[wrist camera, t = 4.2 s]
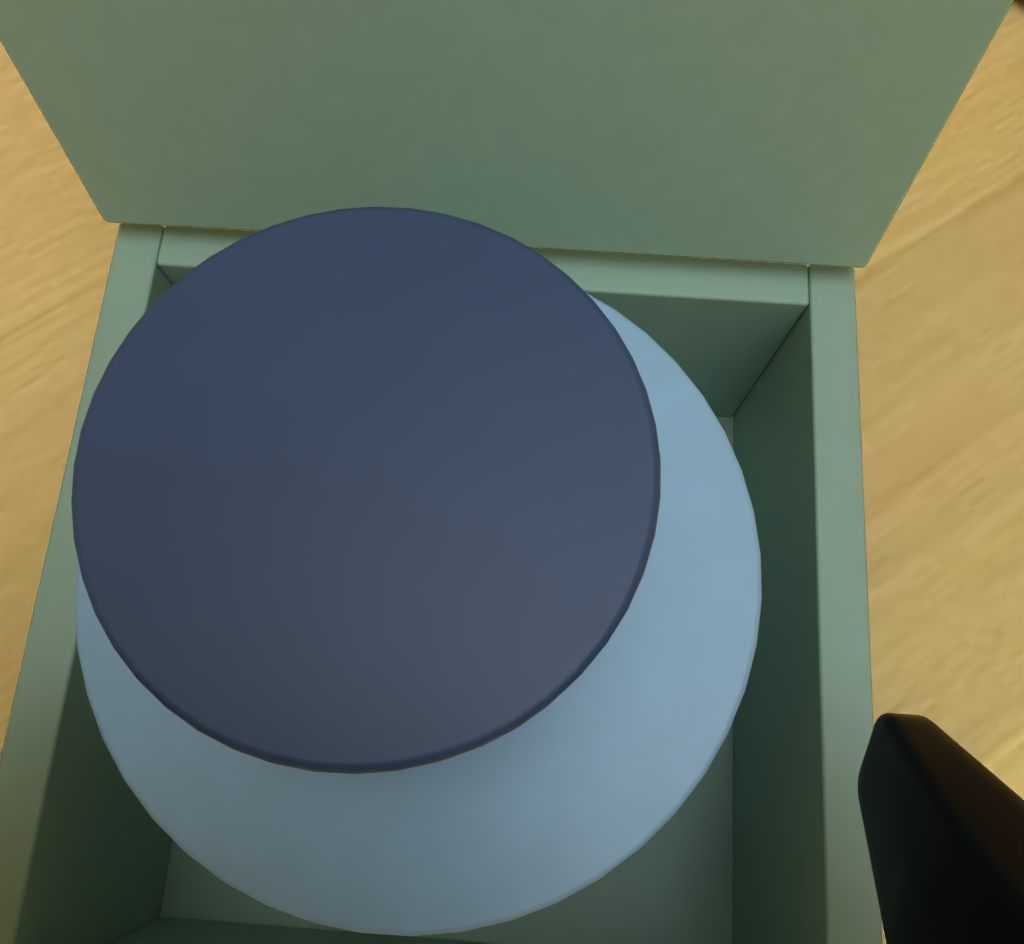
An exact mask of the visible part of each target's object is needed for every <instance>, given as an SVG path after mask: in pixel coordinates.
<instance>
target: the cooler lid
mask: <svg viewBox="0 0 1024 944" xmlns="http://www.w3.org/2000/svg"><path fill="white" fill-rule="evenodd" d="M1013 1H1014V0H0V41H1V42H2V44H3V46H4V48H5V49H6V51H7V53H8V55H9V56H10V58H11V60H12V61H13V63H14V65H15V67H16V68H17V70H18V72H19V74H20V75H21V77H22V79H23V81H24V82H25V84H26V86H27V87H28V89H29V91H30V93H31V94H32V96H33V98H34V100H35V101H36V103H37V105H38V107H39V108H40V110H41V112H42V113H43V115H44V117H45V119H46V120H47V122H48V124H49V126H50V127H51V129H52V131H53V133H54V134H55V136H56V138H57V139H58V141H59V143H60V145H61V146H62V148H63V150H64V152H65V153H66V155H67V157H68V159H69V160H70V162H71V164H72V165H73V167H74V169H75V171H76V172H77V174H78V176H79V178H80V179H81V181H82V183H83V184H84V186H85V188H86V190H87V191H88V193H89V195H90V197H91V198H92V200H93V202H94V204H95V205H96V207H97V209H98V210H99V212H100V214H101V216H102V217H103V219H104V220H105V221H107V222H117V223H133V224H150V225H166V226H183V227H199V228H216V229H232V230H249V231H261V230H263V229H266V228H268V227H270V226H273V225H276V224H279V223H283V222H286V221H289V220H293V219H296V218H299V217H303V216H306V215H311V214H316V213H322V212H327V211H333V210H338V209H348V208H362V207H396V208H413V209H419V210H425V211H431V212H437V213H443V214H448V215H451V216H455V217H458V218H462V219H465V220H469V221H472V222H476V223H479V224H481V225H484V226H486V227H488V228H491V229H493V230H495V231H498V232H500V233H502V234H505V235H507V236H510V237H512V238H513V239H515V240H517V241H518V242H520V243H522V244H524V245H525V246H527V247H529V248H545V249H561V250H578V251H594V252H611V253H627V254H644V255H660V256H677V257H693V258H710V259H726V260H743V261H759V262H776V263H792V264H808V265H825V266H841V267H858V268H862V267H865V266H866V265H867V263H868V262H869V260H870V258H871V256H872V254H873V253H874V251H875V249H876V247H877V245H878V244H879V242H880V240H881V238H882V236H883V235H884V233H885V231H886V229H887V227H888V226H889V224H890V222H891V220H892V218H893V217H894V215H895V213H896V211H897V209H898V208H899V206H900V204H901V202H902V200H903V199H904V197H905V195H906V193H907V191H908V190H909V188H910V186H911V184H912V182H913V181H914V179H915V177H916V175H917V173H918V172H919V170H920V168H921V166H922V164H923V163H924V161H925V159H926V157H927V155H928V154H929V152H930V150H931V148H932V147H933V145H934V143H935V141H936V139H937V138H938V136H939V134H940V132H941V130H942V129H943V127H944V125H945V123H946V121H947V120H948V118H949V116H950V114H951V112H952V111H953V109H954V107H955V105H956V103H957V102H958V100H959V98H960V96H961V94H962V93H963V91H964V89H965V87H966V85H967V84H968V82H969V80H970V78H971V76H972V75H973V73H974V71H975V69H976V67H977V66H978V64H979V62H980V60H981V58H982V57H983V55H984V53H985V51H986V49H987V48H988V46H989V44H990V42H991V40H992V39H993V37H994V35H995V33H996V32H997V30H998V28H999V26H1000V24H1001V23H1002V21H1003V19H1004V17H1005V15H1006V14H1007V12H1008V10H1009V8H1010V6H1011V5H1012V3H1013Z"/></svg>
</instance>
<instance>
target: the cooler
mask: <svg viewBox="0 0 1024 944" xmlns="http://www.w3.org/2000/svg"><path fill="white" fill-rule="evenodd" d="M256 232H258V231H242V230H225V229H209V228H192V227H176V226H166V227H165V228H164V227H163V226H161V225H147V224H130V223H121V224H120V227H119V231H118V235H117V240H116V244H115V249H114V253H113V258H112V262H111V267H110V271H109V276H108V280H107V285H106V289H105V294H104V298H103V303H102V307H101V311H100V316H99V320H98V325H97V329H96V334H95V338H94V343H93V347H92V352H91V356H90V361H89V365H88V370H87V374H86V378H85V383H84V387H83V392H82V396H81V401H80V405H79V410H78V414H77V419H76V423H75V428H74V432H73V437H72V441H71V446H70V450H69V454H68V459H67V463H66V468H65V472H64V477H63V481H62V486H61V490H60V495H59V499H58V504H57V508H56V513H55V517H54V522H53V526H52V530H51V535H50V539H49V544H48V548H47V553H46V557H45V562H44V566H43V571H42V575H41V580H40V584H39V589H38V593H37V597H36V602H35V606H34V611H33V615H32V620H31V624H30V629H29V633H28V638H27V642H26V647H25V651H24V656H23V660H22V665H21V669H20V673H19V678H18V682H17V687H16V691H15V696H14V700H13V705H12V709H11V714H10V718H9V723H8V727H7V732H6V736H5V740H4V745H3V749H2V754H1V758H0V944H883V943H882V920H881V912H880V907H879V902H878V897H877V892H876V887H875V881H874V876H873V871H872V866H871V861H870V856H869V850H868V845H867V840H866V835H865V830H864V824H863V819H862V814H861V809H860V804H859V798H858V775H859V771H860V768H861V765H862V761H863V758H864V755H865V752H866V749H867V746H868V743H869V740H870V737H871V734H872V731H873V705H872V681H871V658H870V634H869V610H868V586H867V562H866V539H865V515H864V491H863V467H862V443H861V420H860V396H859V372H858V348H857V324H856V301H855V277H854V268H852V267H840V266H823V265H810V266H809V267H807V265H801V264H785V263H768V262H752V261H736V260H719V259H703V258H686V257H670V256H653V255H637V254H620V253H604V252H587V251H571V250H554V249H538V248H531V249H532V250H534V251H536V252H538V253H539V254H541V255H542V256H543V257H545V258H546V259H547V260H549V261H550V262H551V263H553V264H554V265H555V266H557V267H558V268H559V269H561V270H562V271H563V272H565V273H566V274H567V275H568V276H569V277H570V278H571V279H572V280H573V281H574V282H575V283H576V284H577V285H579V286H580V287H581V288H582V289H583V290H584V291H585V292H586V293H587V294H589V295H591V296H593V297H594V298H596V299H598V300H599V301H601V302H603V303H605V304H606V305H608V306H610V307H612V308H613V309H615V310H616V311H618V312H619V313H620V314H622V315H623V316H624V317H626V318H627V319H628V320H630V321H631V322H632V323H634V324H635V325H636V326H637V327H639V328H640V329H641V330H643V331H644V332H645V333H647V334H648V335H649V336H650V337H651V338H652V339H653V340H654V341H655V342H656V343H657V344H658V345H659V346H660V347H661V348H662V349H663V350H664V351H665V352H666V353H667V354H668V355H669V356H670V357H671V358H673V359H674V360H675V361H676V362H677V364H678V365H679V366H680V367H681V369H682V370H683V371H684V372H685V374H686V375H687V376H688V377H689V379H690V380H691V381H692V382H693V384H694V385H695V386H696V387H697V389H698V390H699V391H700V392H701V394H702V395H703V396H704V398H705V400H706V401H707V403H708V405H709V406H710V408H711V410H712V411H713V413H714V415H715V416H716V418H717V420H718V421H719V423H720V424H721V426H722V428H723V429H724V431H725V433H726V436H727V438H728V440H729V442H730V445H731V447H732V449H733V451H734V454H735V456H736V458H737V460H738V463H739V465H740V467H741V469H742V473H743V476H744V479H745V483H746V486H747V490H748V493H749V496H750V500H751V503H752V507H753V510H754V515H755V521H756V528H757V534H758V541H759V547H760V553H761V589H762V601H761V611H760V620H759V629H758V638H757V646H756V650H755V654H754V658H753V662H752V666H751V670H750V674H749V678H748V682H747V686H746V690H745V692H744V695H743V697H742V700H741V702H740V705H739V707H738V710H737V712H736V715H735V717H734V720H733V722H732V725H731V728H730V730H729V733H728V735H727V736H726V738H725V740H724V742H723V743H722V745H721V747H720V749H719V751H718V752H717V754H716V756H715V758H714V759H713V761H712V763H711V765H710V766H709V768H708V770H707V772H706V774H705V775H704V777H703V778H702V779H701V781H700V782H699V783H698V785H697V786H696V787H695V788H694V790H693V791H692V792H691V794H690V795H689V796H688V798H687V799H686V800H685V802H684V803H683V804H682V806H681V807H680V808H679V810H678V811H677V812H676V814H675V815H674V816H673V817H672V818H671V819H670V820H669V821H668V822H667V823H666V824H665V825H664V826H663V827H662V828H661V829H660V830H659V831H658V832H657V833H656V834H655V835H654V836H653V837H652V838H651V839H650V840H649V841H648V842H647V843H646V844H645V845H644V846H643V847H642V848H641V849H639V850H638V851H637V852H635V853H634V854H633V855H631V856H630V857H629V858H627V859H626V860H625V861H623V862H622V863H621V864H619V865H618V866H617V867H615V868H614V869H613V870H611V871H610V872H609V873H607V874H606V875H605V876H603V877H602V878H601V879H599V880H597V881H595V882H594V883H592V884H590V885H588V886H586V887H585V888H583V889H581V890H579V891H577V892H576V893H574V894H572V895H570V896H568V897H567V898H565V899H563V900H561V901H559V902H558V903H555V904H553V905H550V906H548V907H545V908H542V909H540V910H537V911H534V912H532V913H529V914H527V915H524V916H521V917H519V918H516V919H514V920H511V921H507V922H503V923H499V924H494V925H490V926H485V927H481V928H477V929H472V930H468V931H464V932H456V933H443V934H431V935H419V936H401V935H385V934H370V933H359V932H354V931H350V930H345V929H340V928H336V927H331V926H326V925H321V924H317V923H312V922H310V921H307V920H304V919H302V918H299V917H296V916H293V915H291V914H288V913H285V912H283V911H280V910H277V909H275V908H272V907H269V906H267V905H265V904H263V903H261V902H259V901H258V900H256V899H254V898H252V897H250V896H248V895H247V894H245V893H243V892H241V891H239V890H238V889H236V888H234V887H232V886H230V885H229V884H227V883H225V882H223V881H222V880H221V879H219V878H218V877H217V876H215V875H214V874H213V873H211V872H210V871H209V870H208V869H206V868H205V867H204V866H202V865H201V864H200V863H198V862H197V861H196V860H194V859H193V858H192V857H190V856H189V855H188V854H187V853H185V852H184V851H183V850H182V849H181V848H180V847H179V846H178V845H177V843H176V842H175V841H174V840H173V839H172V838H171V837H170V836H169V835H168V834H167V833H166V832H165V831H164V830H163V829H162V828H161V827H160V826H159V825H158V824H157V823H156V822H155V821H154V820H153V819H152V818H151V816H150V815H149V814H148V812H147V811H146V809H145V808H144V807H143V805H142V804H141V802H140V801H139V800H138V798H137V797H136V796H135V794H134V793H133V791H132V790H131V789H130V787H129V786H128V785H127V783H126V782H125V780H124V779H123V777H122V775H121V773H120V771H119V769H118V767H117V765H116V763H115V761H114V759H113V758H112V756H111V754H110V752H109V750H108V748H107V746H106V744H105V742H104V740H103V738H102V736H101V733H100V730H99V727H98V724H97V721H96V719H95V716H94V713H93V710H92V707H91V705H90V702H89V699H88V696H87V692H86V687H85V682H84V678H83V673H82V668H81V663H80V658H79V653H78V646H77V631H76V616H75V593H76V578H77V563H78V557H77V552H76V548H75V543H74V536H73V521H72V506H71V498H72V483H73V469H74V462H75V457H76V452H77V447H78V442H79V437H80V432H81V428H82V425H83V422H84V420H85V417H86V414H87V411H88V408H89V405H90V402H91V399H92V396H93V394H94V392H95V390H96V388H97V386H98V384H99V382H100V380H101V378H102V376H103V374H104V372H105V370H106V368H107V366H108V364H109V362H110V360H111V359H112V357H113V356H114V354H115V352H116V351H117V349H118V348H119V346H120V345H121V343H122V342H123V340H124V339H125V337H126V336H127V334H128V333H129V331H130V330H131V329H132V328H133V327H134V325H135V324H136V323H137V322H138V321H139V319H140V318H141V317H142V316H143V315H144V314H145V312H146V311H147V310H148V309H149V308H150V306H151V305H152V304H153V303H154V302H155V301H156V300H157V299H158V298H159V297H161V296H162V295H163V294H164V293H165V292H166V291H167V290H168V289H169V288H170V287H171V286H172V285H173V284H175V283H176V282H177V281H178V280H179V279H180V278H181V277H183V276H184V275H185V274H187V273H188V272H190V271H191V270H192V269H194V268H195V267H196V266H198V265H199V264H200V263H202V262H203V261H205V260H206V259H207V258H209V257H210V256H212V255H214V254H216V253H217V252H219V251H221V250H223V249H224V248H226V247H228V246H230V245H231V244H233V243H235V242H237V241H238V240H240V239H242V238H245V237H247V236H249V235H252V234H254V233H256Z"/></svg>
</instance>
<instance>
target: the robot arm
mask: <svg viewBox="0 0 1024 944" xmlns="http://www.w3.org/2000/svg"><path fill="white" fill-rule="evenodd" d="M858 798H859V804H860V809H861V814H862V819H863V824H864V830H865V835H866V840H867V845H868V850H869V856H870V861H871V866H872V871H873V876H874V881H875V887H876V892H877V897H878V902H879V907H880V912H881V918H882V923H883V928H884V933H885V937H886V942H887V944H1024V800H1023V799H1022V798H1021V797H1020V796H1018V795H1017V794H1016V793H1015V792H1014V791H1013V790H1011V789H1010V788H1009V787H1008V786H1007V785H1006V784H1004V783H1003V782H1002V781H1001V780H1000V779H999V778H997V777H996V776H995V775H994V774H993V773H992V772H991V771H989V770H988V769H987V768H986V767H985V766H984V765H982V764H981V763H980V762H979V761H978V760H977V759H975V758H974V757H973V756H972V755H971V754H970V753H968V752H967V751H966V750H965V749H964V748H963V747H961V746H960V745H959V744H958V743H957V742H956V741H954V740H953V739H952V738H951V737H950V736H949V735H947V734H946V733H945V732H944V731H943V730H942V729H940V728H939V727H938V726H937V725H936V724H935V723H933V722H932V721H931V720H929V719H928V718H926V717H924V716H920V715H909V714H895V713H886V714H883V715H881V716H880V717H879V718H878V719H877V721H876V723H875V725H874V728H873V731H872V734H871V737H870V740H869V743H868V746H867V749H866V752H865V755H864V758H863V761H862V765H861V768H860V771H859V775H858Z"/></svg>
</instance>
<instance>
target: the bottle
mask: <svg viewBox="0 0 1024 944" xmlns="http://www.w3.org/2000/svg"><path fill="white" fill-rule="evenodd" d="M71 506H72V521H73V536H74V543H75V548H76V552H77V557H78V563H77V578H76V593H75V616H76V631H77V646H78V653H79V658H80V663H81V668H82V673H83V678H84V682H85V687H86V692H87V696H88V699H89V702H90V705H91V707H92V710H93V713H94V716H95V719H96V721H97V724H98V727H99V730H100V733H101V736H102V738H103V740H104V742H105V744H106V746H107V748H108V750H109V752H110V754H111V756H112V758H113V759H114V761H115V763H116V765H117V767H118V769H119V771H120V773H121V775H122V777H123V779H124V780H125V782H126V783H127V785H128V786H129V787H130V789H131V790H132V791H133V793H134V794H135V796H136V797H137V798H138V800H139V801H140V802H141V804H142V805H143V807H144V808H145V809H146V811H147V812H148V814H149V815H150V816H151V818H152V819H153V820H154V821H155V822H156V823H157V824H158V825H159V826H160V827H161V828H162V829H163V830H164V831H165V832H166V833H167V834H168V835H169V836H170V837H171V838H172V839H173V840H174V841H175V842H176V843H177V845H178V846H179V847H180V848H181V849H182V850H183V851H184V852H185V853H187V854H188V855H189V856H190V857H192V858H193V859H194V860H196V861H197V862H198V863H200V864H201V865H202V866H204V867H205V868H206V869H208V870H209V871H210V872H211V873H213V874H214V875H215V876H217V877H218V878H219V879H221V880H222V881H223V882H225V883H227V884H229V885H230V886H232V887H234V888H236V889H238V890H239V891H241V892H243V893H245V894H247V895H248V896H250V897H252V898H254V899H256V900H258V901H259V902H261V903H263V904H265V905H267V906H269V907H272V908H275V909H277V910H280V911H283V912H285V913H288V914H291V915H293V916H296V917H299V918H302V919H304V920H307V921H310V922H312V923H317V924H321V925H326V926H331V927H336V928H340V929H345V930H350V931H354V932H359V933H370V934H385V935H401V936H419V935H431V934H443V933H456V932H464V931H468V930H472V929H477V928H481V927H485V926H490V925H494V924H499V923H503V922H507V921H511V920H514V919H516V918H519V917H521V916H524V915H527V914H529V913H532V912H534V911H537V910H540V909H542V908H545V907H548V906H550V905H553V904H555V903H558V902H559V901H561V900H563V899H565V898H567V897H568V896H570V895H572V894H574V893H576V892H577V891H579V890H581V889H583V888H585V887H586V886H588V885H590V884H592V883H594V882H595V881H597V880H599V879H601V878H602V877H603V876H605V875H606V874H607V873H609V872H610V871H611V870H613V869H614V868H615V867H617V866H618V865H619V864H621V863H622V862H623V861H625V860H626V859H627V858H629V857H630V856H631V855H633V854H634V853H635V852H637V851H638V850H639V849H641V848H642V847H643V846H644V845H645V844H646V843H647V842H648V841H649V840H650V839H651V838H652V837H653V836H654V835H655V834H656V833H657V832H658V831H659V830H660V829H661V828H662V827H663V826H664V825H665V824H666V823H667V822H668V821H669V820H670V819H671V818H672V817H673V816H674V815H675V814H676V812H677V811H678V810H679V808H680V807H681V806H682V804H683V803H684V802H685V800H686V799H687V798H688V796H689V795H690V794H691V792H692V791H693V790H694V788H695V787H696V786H697V785H698V783H699V782H700V781H701V779H702V778H703V777H704V775H705V774H706V772H707V770H708V768H709V766H710V765H711V763H712V761H713V759H714V758H715V756H716V754H717V752H718V751H719V749H720V747H721V745H722V743H723V742H724V740H725V738H726V736H727V735H728V733H729V730H730V728H731V725H732V722H733V720H734V717H735V715H736V712H737V710H738V707H739V705H740V702H741V700H742V697H743V695H744V692H745V690H746V686H747V682H748V678H749V674H750V670H751V666H752V662H753V658H754V654H755V650H756V646H757V638H758V629H759V620H760V611H761V601H762V589H761V553H760V547H759V541H758V534H757V528H756V521H755V515H754V510H753V507H752V503H751V500H750V496H749V493H748V490H747V486H746V483H745V479H744V476H743V473H742V469H741V467H740V465H739V463H738V460H737V458H736V456H735V454H734V451H733V449H732V447H731V445H730V442H729V440H728V438H727V436H726V433H725V431H724V429H723V428H722V426H721V424H720V423H719V421H718V420H717V418H716V416H715V415H714V413H713V411H712V410H711V408H710V406H709V405H708V403H707V401H706V400H705V398H704V396H703V395H702V394H701V392H700V391H699V390H698V389H697V387H696V386H695V385H694V384H693V382H692V381H691V380H690V379H689V377H688V376H687V375H686V374H685V372H684V371H683V370H682V369H681V367H680V366H679V365H678V364H677V362H676V361H675V360H674V359H673V358H671V357H670V356H669V355H668V354H667V353H666V352H665V351H664V350H663V349H662V348H661V347H660V346H659V345H658V344H657V343H656V342H655V341H654V340H653V339H652V338H651V337H650V336H649V335H648V334H647V333H645V332H644V331H643V330H641V329H640V328H639V327H637V326H636V325H635V324H634V323H632V322H631V321H630V320H628V319H627V318H626V317H624V316H623V315H622V314H620V313H619V312H618V311H616V310H615V309H613V308H612V307H610V306H608V305H606V304H605V303H603V302H601V301H599V300H598V299H596V298H594V297H593V296H591V295H589V294H587V293H586V292H585V291H584V290H583V289H582V288H581V287H580V286H579V285H577V284H576V283H575V282H574V281H573V280H572V279H571V278H570V277H569V276H568V275H567V274H566V273H565V272H563V271H562V270H561V269H559V268H558V267H557V266H555V265H554V264H553V263H551V262H550V261H549V260H547V259H546V258H545V257H543V256H542V255H541V254H539V253H538V252H536V251H534V250H532V249H531V248H529V247H527V246H525V245H524V244H522V243H520V242H518V241H517V240H515V239H513V238H512V237H510V236H507V235H505V234H502V233H500V232H498V231H495V230H493V229H491V228H488V227H486V226H484V225H481V224H479V223H476V222H472V221H469V220H465V219H462V218H458V217H455V216H451V215H448V214H443V213H437V212H431V211H425V210H419V209H413V208H396V207H362V208H348V209H338V210H333V211H327V212H322V213H316V214H311V215H306V216H303V217H299V218H296V219H293V220H289V221H286V222H283V223H279V224H276V225H273V226H270V227H268V228H266V229H263V230H261V231H259V232H256V233H254V234H252V235H249V236H247V237H245V238H242V239H240V240H238V241H237V242H235V243H233V244H231V245H230V246H228V247H226V248H224V249H223V250H221V251H219V252H217V253H216V254H214V255H212V256H210V257H209V258H207V259H206V260H205V261H203V262H202V263H200V264H199V265H198V266H196V267H195V268H194V269H192V270H191V271H190V272H188V273H187V274H185V275H184V276H183V277H181V278H180V279H179V280H178V281H177V282H176V283H175V284H173V285H172V286H171V287H170V288H169V289H168V290H167V291H166V292H165V293H164V294H163V295H162V296H161V297H159V298H158V299H157V300H156V301H155V302H154V303H153V304H152V305H151V306H150V308H149V309H148V310H147V311H146V312H145V314H144V315H143V316H142V317H141V318H140V319H139V321H138V322H137V323H136V324H135V325H134V327H133V328H132V329H131V330H130V331H129V333H128V334H127V336H126V337H125V339H124V340H123V342H122V343H121V345H120V346H119V348H118V349H117V351H116V352H115V354H114V356H113V357H112V359H111V360H110V362H109V364H108V366H107V368H106V370H105V372H104V374H103V376H102V378H101V380H100V382H99V384H98V386H97V388H96V390H95V392H94V394H93V396H92V399H91V402H90V405H89V408H88V411H87V414H86V417H85V420H84V422H83V425H82V428H81V432H80V437H79V442H78V447H77V452H76V457H75V462H74V469H73V483H72V498H71Z"/></svg>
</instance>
